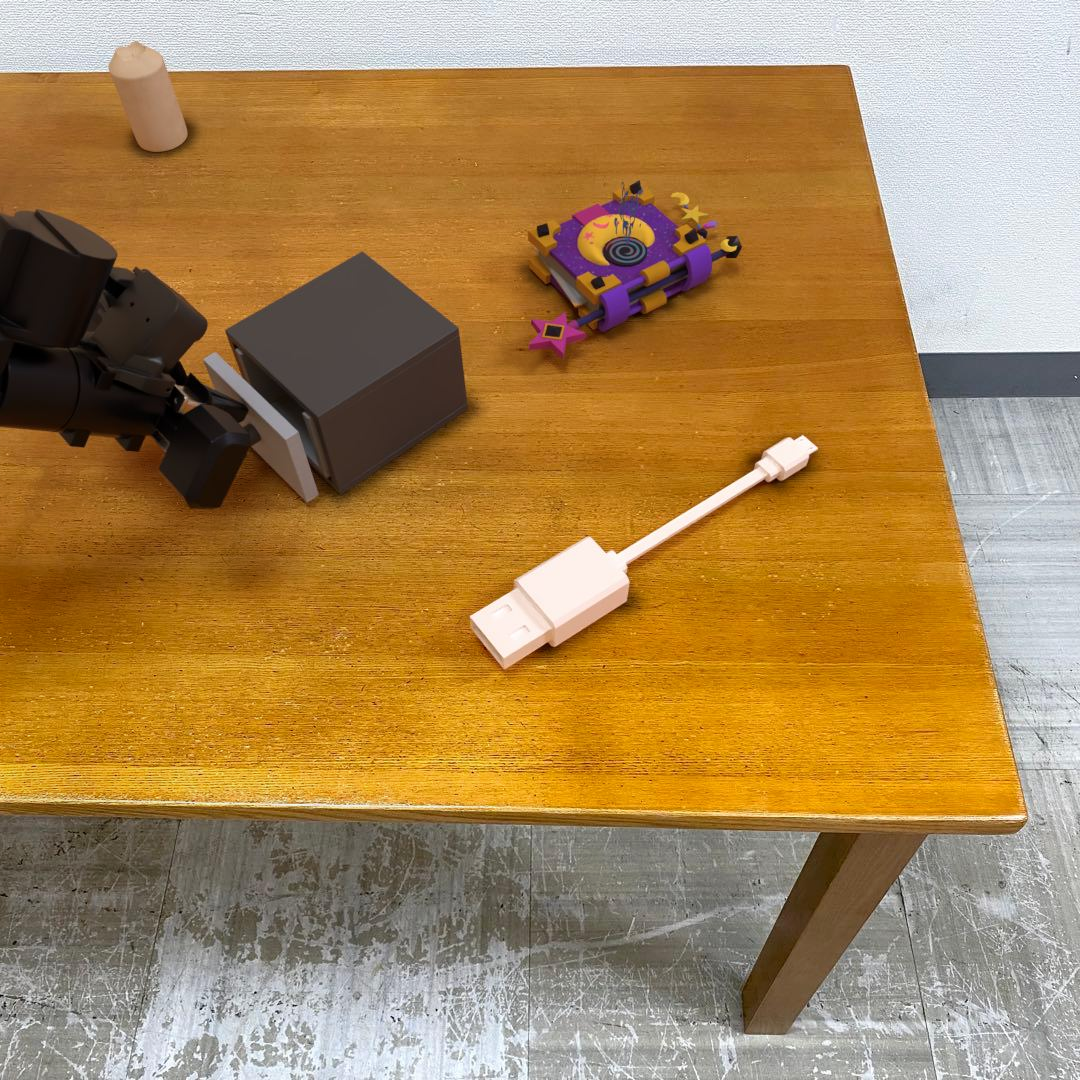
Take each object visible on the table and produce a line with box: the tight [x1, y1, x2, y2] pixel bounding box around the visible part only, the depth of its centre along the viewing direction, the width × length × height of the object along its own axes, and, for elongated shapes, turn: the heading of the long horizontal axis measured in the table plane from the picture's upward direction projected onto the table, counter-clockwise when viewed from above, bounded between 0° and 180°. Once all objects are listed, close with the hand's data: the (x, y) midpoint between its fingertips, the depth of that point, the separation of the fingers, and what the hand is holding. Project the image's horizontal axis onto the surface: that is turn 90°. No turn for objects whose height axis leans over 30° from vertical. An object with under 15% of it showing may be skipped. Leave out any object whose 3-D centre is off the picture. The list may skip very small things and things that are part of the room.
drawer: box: [202, 348, 331, 503], centre depth 82 cm, size 14×11×8 cm
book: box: [527, 169, 743, 360], centre depth 91 cm, size 15×25×12 cm, turn 124°
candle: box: [108, 40, 189, 153], centre depth 107 cm, size 6×6×10 cm
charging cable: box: [469, 434, 819, 670], centre depth 78 cm, size 5×32×3 cm, turn 126°
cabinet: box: [224, 251, 469, 496], centre depth 84 cm, size 14×13×10 cm
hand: (244, 412), depth 78 cm, fingers closed, pressing on drawer
